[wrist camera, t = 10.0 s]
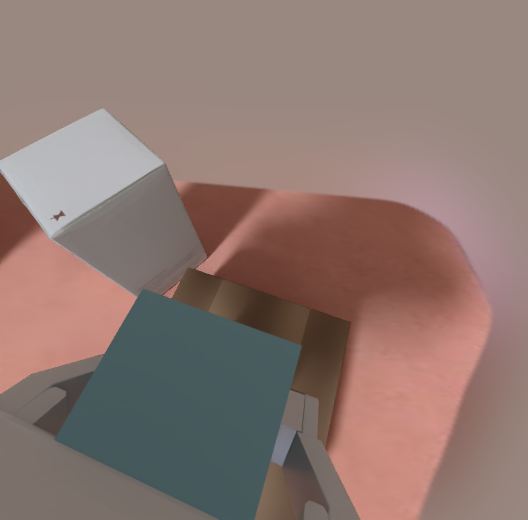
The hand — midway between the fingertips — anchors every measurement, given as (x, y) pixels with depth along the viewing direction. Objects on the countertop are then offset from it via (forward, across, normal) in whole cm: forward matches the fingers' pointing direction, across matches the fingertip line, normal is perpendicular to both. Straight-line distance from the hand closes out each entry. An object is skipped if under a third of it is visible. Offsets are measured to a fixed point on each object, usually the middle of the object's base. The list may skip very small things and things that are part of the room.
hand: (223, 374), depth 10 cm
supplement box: (+14, +12, +3) cm, 19 cm away
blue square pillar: (+4, 0, +5) cm, 6 cm away
